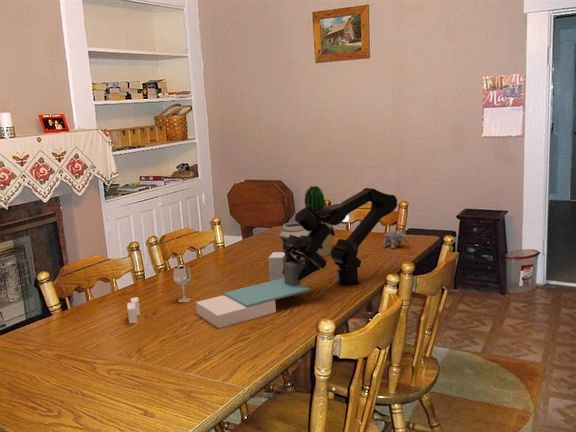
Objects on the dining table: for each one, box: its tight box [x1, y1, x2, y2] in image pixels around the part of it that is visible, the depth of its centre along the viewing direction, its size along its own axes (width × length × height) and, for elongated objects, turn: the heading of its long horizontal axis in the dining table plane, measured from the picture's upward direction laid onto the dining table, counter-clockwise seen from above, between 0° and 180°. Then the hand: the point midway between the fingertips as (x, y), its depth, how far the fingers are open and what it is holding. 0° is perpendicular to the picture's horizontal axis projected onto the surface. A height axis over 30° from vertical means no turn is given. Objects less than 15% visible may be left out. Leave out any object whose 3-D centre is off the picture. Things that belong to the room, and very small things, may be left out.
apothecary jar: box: [278, 221, 309, 272], centre depth 230 cm, size 12×12×18 cm
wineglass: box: [173, 264, 192, 303], centre depth 200 cm, size 6×6×12 cm
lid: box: [223, 262, 311, 307], centre depth 190 cm, size 23×16×10 cm
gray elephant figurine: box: [382, 229, 410, 250], centre depth 253 cm, size 9×12×8 cm
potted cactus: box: [303, 185, 334, 257], centre depth 250 cm, size 15×15×30 cm
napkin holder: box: [126, 296, 141, 325], centre depth 188 cm, size 15×11×6 cm
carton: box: [195, 294, 277, 329], centre depth 185 cm, size 20×16×4 cm
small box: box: [267, 251, 286, 281], centre depth 214 cm, size 8×6×10 cm
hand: (290, 276), depth 195 cm, fingers open, 9 cm apart
